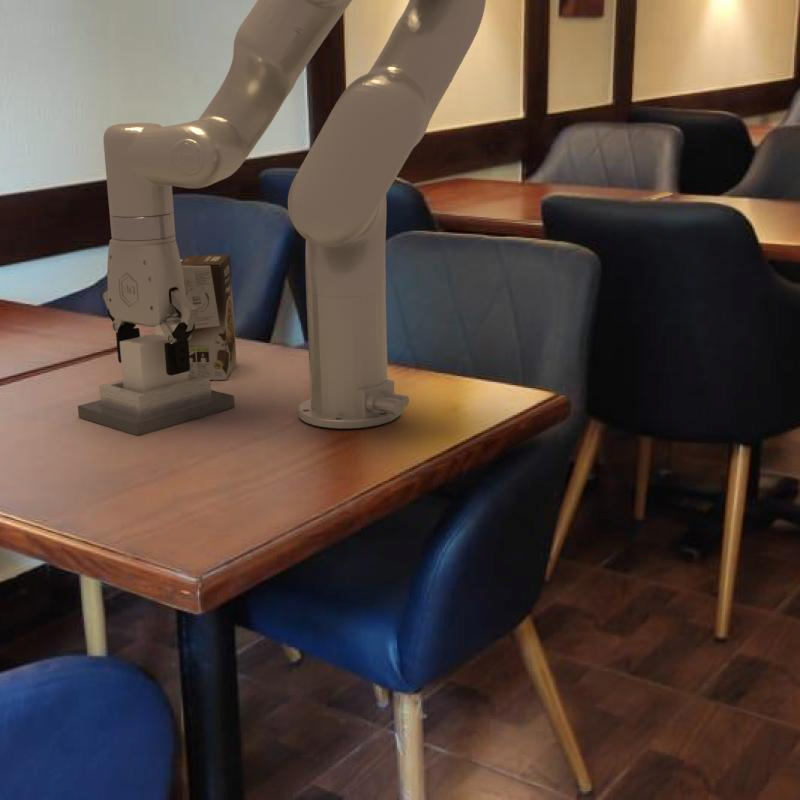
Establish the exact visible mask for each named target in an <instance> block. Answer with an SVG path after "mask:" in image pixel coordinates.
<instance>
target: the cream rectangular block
mask: <svg viewBox="0 0 800 800" xmlns="http://www.w3.org/2000/svg"><path fill="white" fill-rule="evenodd" d="M164 343H168V340H167V338H166V337H165V335H164V333H163V332H159V333H156V332H155V333H151V334H147V335H142V336H140V337H137V338H133V339H129V340H124V341H120V352H121V363H120V364H121V373H122V380H123V387H124V389H126V390H130V391H134V392H137V393H143V392H147V391H151V390H155V389H159V388H162V387H166V386H170V385H174V384H177V383H181V382H185V381H189V378H188V372H184V373H180V374H176V375H172V376H171V375H168V374H167V372H166V360H165V347H164V346H165V344H164Z"/></svg>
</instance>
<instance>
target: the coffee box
mask: <svg viewBox="0 0 800 800" xmlns="http://www.w3.org/2000/svg"><path fill="white" fill-rule="evenodd" d="M181 260H182V261H181V266H182V272H183V279H184V287H185V297H186V298H187V299H188V300H189V301H190V302H191V303H192V304H193V305H194V306H195V307H196V308H197V309H198V315H197V318H196V321H195V323H194V324H195V329H194V330H193V332H192V333H191V339H190V340H188V344H189V359H190V370H189V371H188V372H190V373H194V374H198V375H202V376H206V377H210V381H226V380H228V378H229V376H230V375H231V373H233V372H232V371H233V370H234V369H235V367H236V365H237V349H236V346H237V345H236V333H235V332H236V331H235V329H236V328H235V317H234V303H233V302H234V301H233V299H234V298H233V284H232V281H233V280H232V268H231V267H232V266H231V255H230V254H227V253H226V254H201V255H186V256H185V257H184V258H183V259H181Z"/></svg>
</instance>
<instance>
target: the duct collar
mask: <svg viewBox="0 0 800 800" xmlns="http://www.w3.org/2000/svg"><path fill="white" fill-rule="evenodd" d="M188 378H189V381H185V382H181V383H177V384H174V385H170V386H166V387H162V388H159V389H155V390H151V391H147V392H143V393H137V392H134V391H130V390H126V389H124V387H123V379H120V380H116V381H112V382H108V383H104V384H101V385H98V389H99V399H98V400H96V401H91V402H87V403H84V404H80V405H77V411H78V412H77V413H78V418H80V419H82V420H86V421H89V422H93V423H96V424H100V425H102V426H105V427H108V428H111V429H113V430H114V429H115V430H117V431H121V432H124V433H128V434H131V435H134V436H137V437H138V436H141V435H145V434H148V433H149V434H150V433H153V432H154V431H159V430H162V429H165V428H168V427H172V426H175V425H179V424H183V423H185V422H189V421H192V420H195V419H199V418H203V417H206V416H210V415H213V414H216V413H219V412H223V411H226V410H229V409H233V408H235V395H232V394H229V393H224V392H220V391H217V390H212V387H211V386H212V385H211V380H210V377H206V376H202V375H198V374H194V373H190V372H188Z"/></svg>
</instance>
